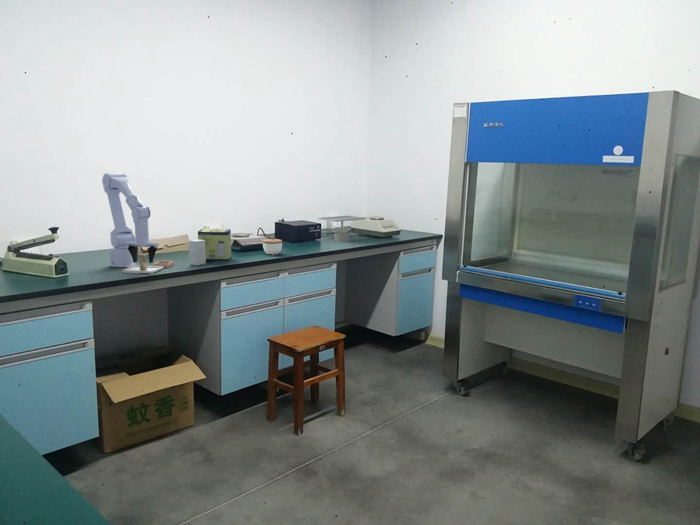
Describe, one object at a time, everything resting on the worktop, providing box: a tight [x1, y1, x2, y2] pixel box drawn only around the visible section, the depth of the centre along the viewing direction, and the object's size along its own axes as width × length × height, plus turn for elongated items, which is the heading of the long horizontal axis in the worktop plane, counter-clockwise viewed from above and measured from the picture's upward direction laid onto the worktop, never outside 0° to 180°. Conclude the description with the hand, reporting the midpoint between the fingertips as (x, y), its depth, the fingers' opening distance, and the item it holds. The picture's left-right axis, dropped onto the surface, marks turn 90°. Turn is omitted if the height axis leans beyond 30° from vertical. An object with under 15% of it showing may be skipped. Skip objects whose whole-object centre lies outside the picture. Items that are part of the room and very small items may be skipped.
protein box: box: [197, 228, 232, 263], centre depth 288 cm, size 10×16×16 cm
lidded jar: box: [262, 236, 283, 256], centre depth 310 cm, size 11×11×9 cm
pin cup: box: [152, 260, 176, 269], centre depth 270 cm, size 7×7×2 cm
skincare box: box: [189, 239, 207, 266], centre depth 276 cm, size 6×4×12 cm
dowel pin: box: [138, 253, 148, 270], centre depth 257 cm, size 3×3×7 cm
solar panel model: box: [317, 215, 367, 243], centre depth 367 cm, size 28×17×15 cm, turn 133°
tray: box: [121, 264, 164, 274], centre depth 258 cm, size 14×12×1 cm
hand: (143, 262), depth 257 cm, fingers open, 7 cm apart
